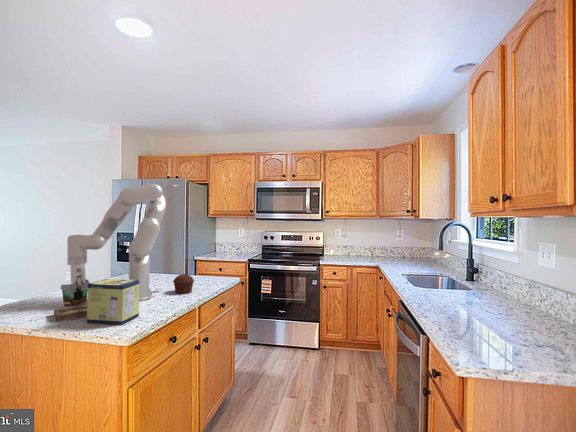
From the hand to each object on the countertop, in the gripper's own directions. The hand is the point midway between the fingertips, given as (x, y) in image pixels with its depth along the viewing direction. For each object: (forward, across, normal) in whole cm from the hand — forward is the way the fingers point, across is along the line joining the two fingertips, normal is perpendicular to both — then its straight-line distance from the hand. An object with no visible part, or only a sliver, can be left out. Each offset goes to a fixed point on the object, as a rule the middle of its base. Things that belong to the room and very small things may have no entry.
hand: (77, 298), depth 135 cm
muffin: (+5, -8, -48) cm, 49 cm away
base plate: (+3, -18, +1) cm, 18 cm away
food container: (+3, -1, 0) cm, 3 cm away
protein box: (+4, -34, -8) cm, 35 cm away
